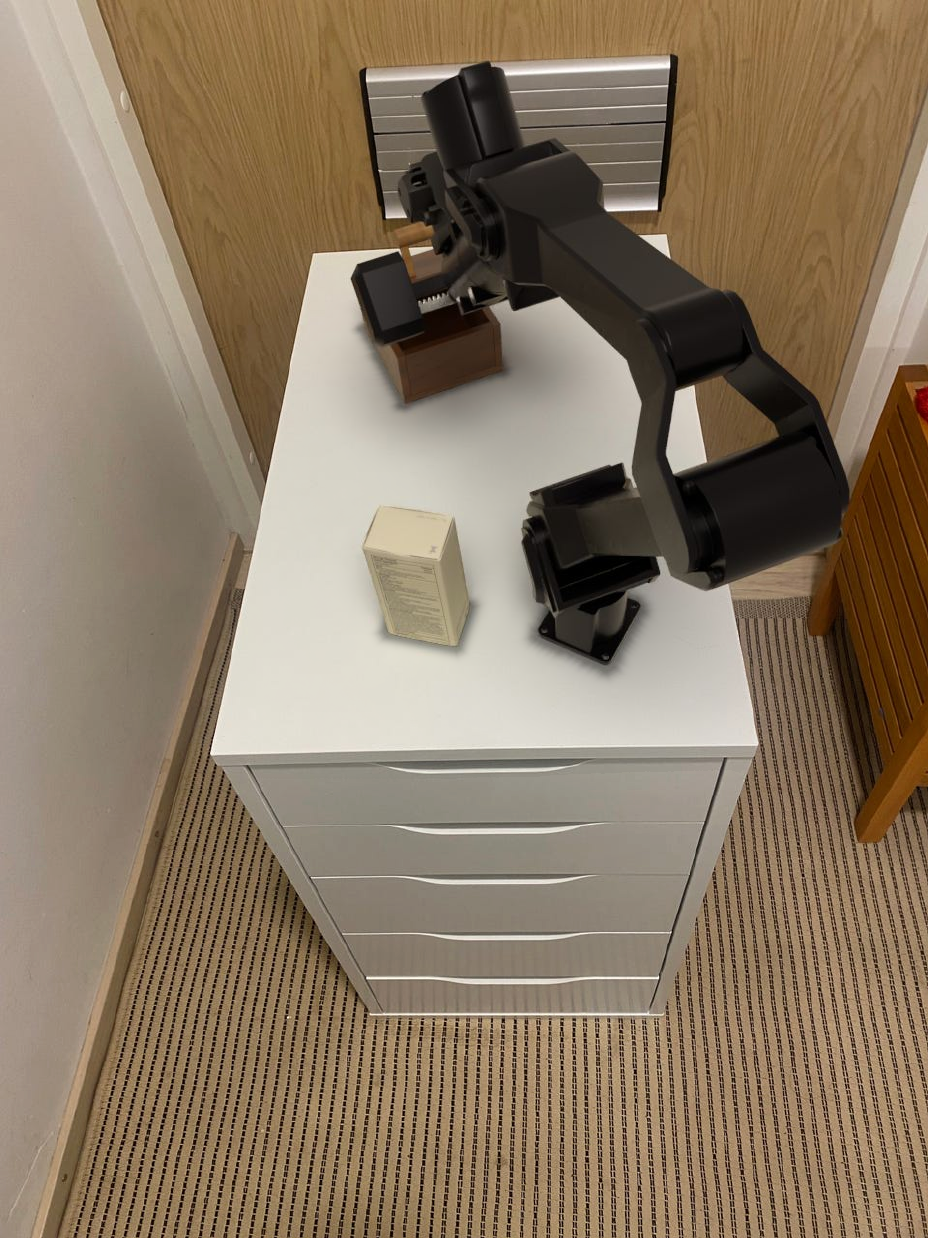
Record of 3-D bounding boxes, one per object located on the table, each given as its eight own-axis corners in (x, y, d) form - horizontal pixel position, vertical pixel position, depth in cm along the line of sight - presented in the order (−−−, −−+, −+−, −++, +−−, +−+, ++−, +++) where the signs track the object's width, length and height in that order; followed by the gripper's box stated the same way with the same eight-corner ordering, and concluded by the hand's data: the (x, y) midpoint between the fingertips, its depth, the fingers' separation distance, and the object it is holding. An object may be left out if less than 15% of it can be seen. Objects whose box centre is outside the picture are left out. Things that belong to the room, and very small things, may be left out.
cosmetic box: (470, 606, 80) (459, 514, 70) (456, 650, 78) (442, 561, 67) (400, 592, 81) (378, 500, 71) (384, 635, 79) (359, 546, 69)
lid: (494, 263, 86) (482, 205, 83) (385, 299, 84) (368, 241, 82) (452, 251, 97) (440, 199, 95) (355, 282, 95) (340, 230, 93)
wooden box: (503, 370, 95) (500, 323, 90) (405, 403, 94) (397, 358, 89) (456, 297, 102) (452, 250, 97) (364, 328, 100) (355, 281, 96)
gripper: (583, 96, 67) (523, 167, 82) (333, 171, 64) (319, 230, 79) (628, 255, 69) (562, 295, 84) (388, 334, 66) (364, 361, 81)
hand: (453, 292), depth 82 cm, fingers open, 9 cm apart
